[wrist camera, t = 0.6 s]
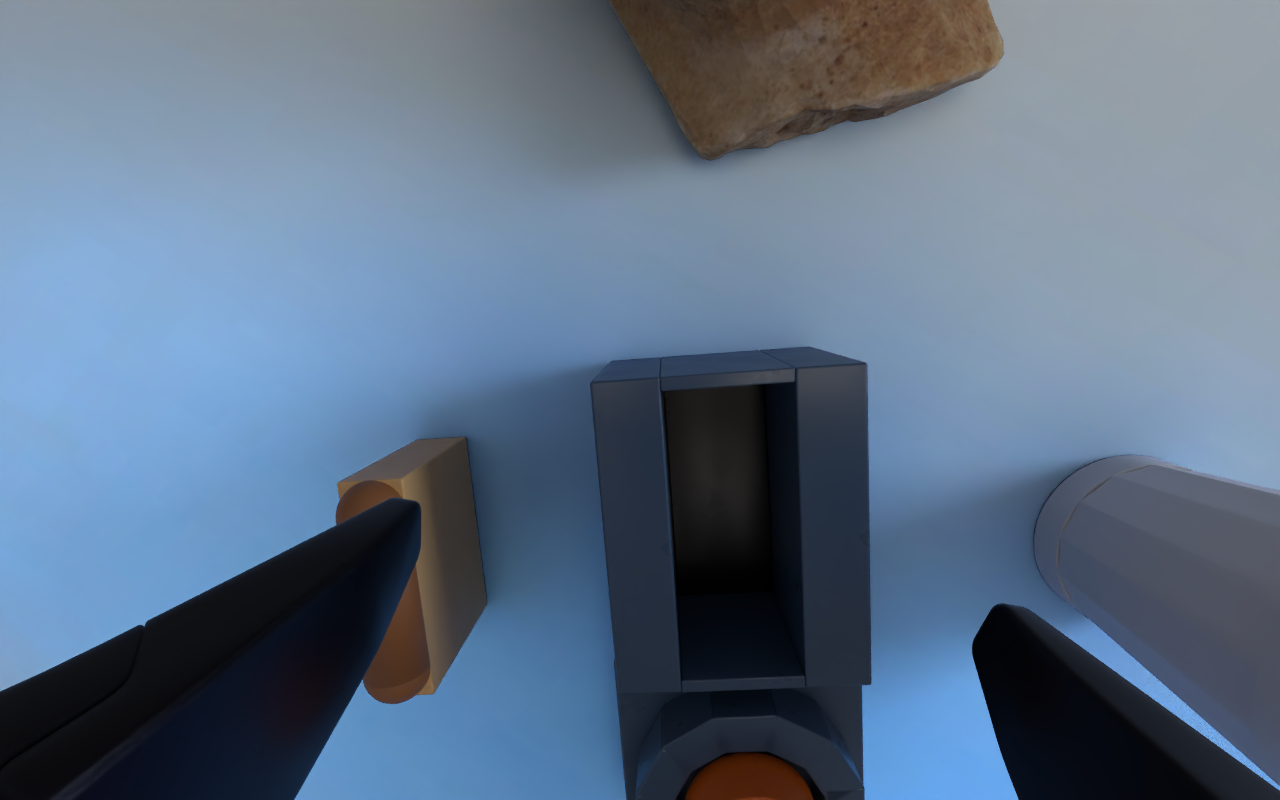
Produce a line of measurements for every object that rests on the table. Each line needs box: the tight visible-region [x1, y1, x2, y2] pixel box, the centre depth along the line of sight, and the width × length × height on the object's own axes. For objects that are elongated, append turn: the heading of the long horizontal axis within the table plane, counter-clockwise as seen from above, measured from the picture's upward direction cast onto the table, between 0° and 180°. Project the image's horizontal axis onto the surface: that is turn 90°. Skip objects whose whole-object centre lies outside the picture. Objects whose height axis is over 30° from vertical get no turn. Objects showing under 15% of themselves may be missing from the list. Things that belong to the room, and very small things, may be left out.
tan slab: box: [336, 437, 487, 704], centre depth 20 cm, size 7×2×6 cm, turn 4°
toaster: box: [590, 347, 871, 695], centre depth 19 cm, size 9×7×6 cm
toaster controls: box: [614, 659, 865, 800], centre depth 20 cm, size 8×8×6 cm
